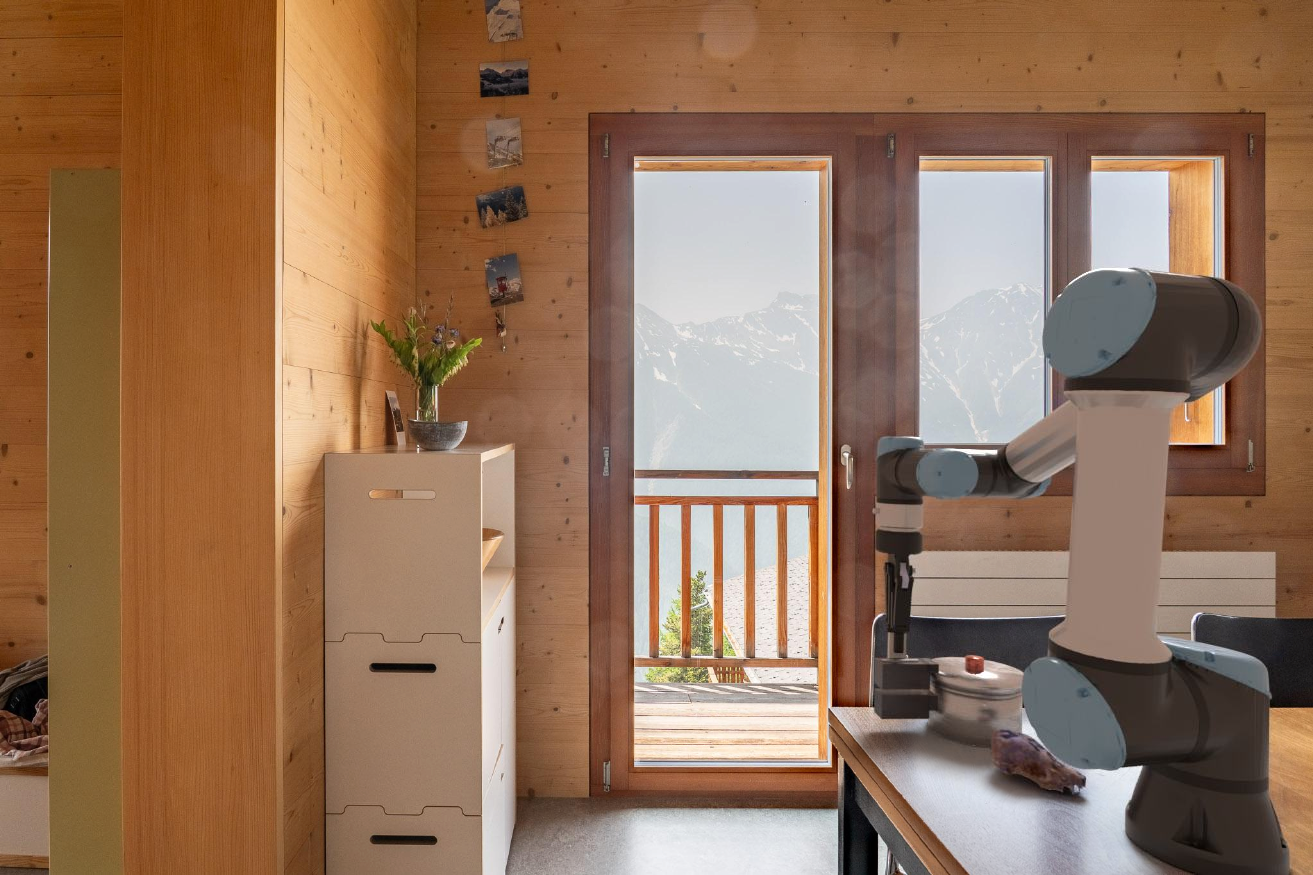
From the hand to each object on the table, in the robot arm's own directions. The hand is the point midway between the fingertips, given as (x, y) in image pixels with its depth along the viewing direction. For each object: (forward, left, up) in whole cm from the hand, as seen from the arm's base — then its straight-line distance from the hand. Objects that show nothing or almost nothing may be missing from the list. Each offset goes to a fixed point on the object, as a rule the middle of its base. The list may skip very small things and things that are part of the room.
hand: (896, 670), depth 123 cm
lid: (-4, -7, -1) cm, 8 cm away
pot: (-4, -7, -9) cm, 12 cm away
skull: (-23, -10, -9) cm, 26 cm away
